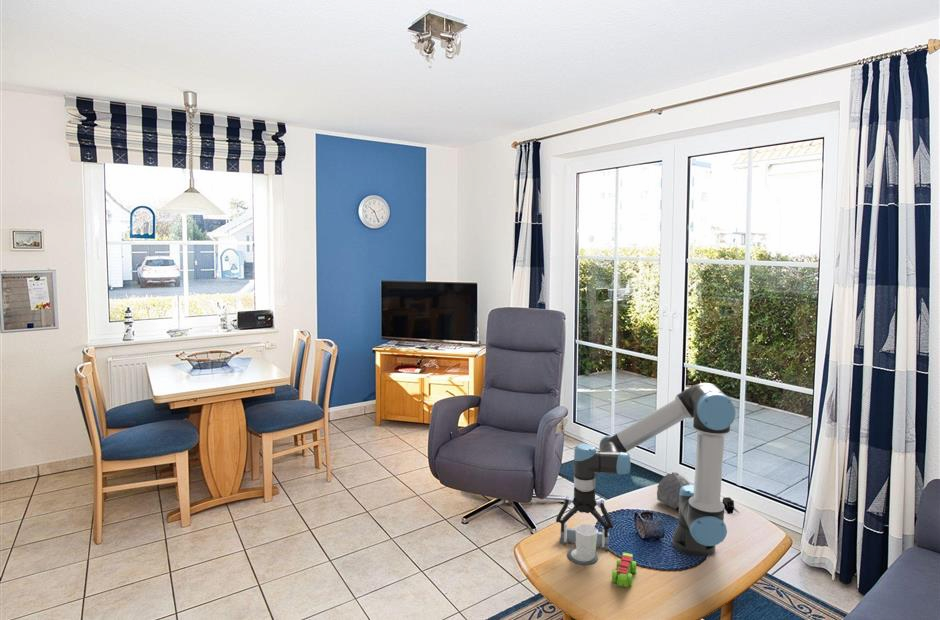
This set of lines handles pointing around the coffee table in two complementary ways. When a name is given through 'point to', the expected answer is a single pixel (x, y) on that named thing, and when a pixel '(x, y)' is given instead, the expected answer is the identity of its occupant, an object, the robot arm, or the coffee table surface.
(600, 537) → the grey rectangular bar
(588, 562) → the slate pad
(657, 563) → the coffee table surface
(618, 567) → the toy crocodile
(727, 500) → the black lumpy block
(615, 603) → the coffee table surface
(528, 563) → the coffee table surface
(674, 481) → the decorative rock
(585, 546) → the white cup
